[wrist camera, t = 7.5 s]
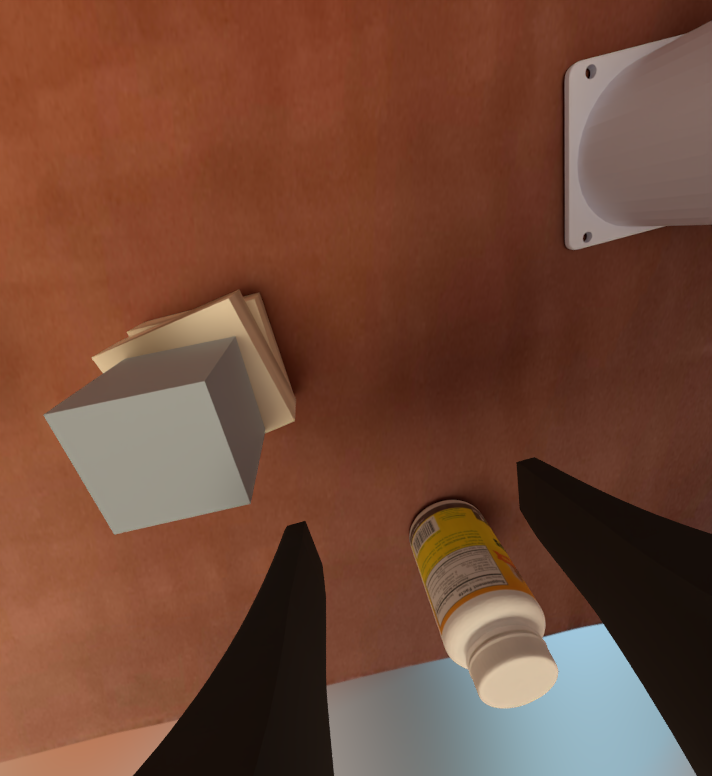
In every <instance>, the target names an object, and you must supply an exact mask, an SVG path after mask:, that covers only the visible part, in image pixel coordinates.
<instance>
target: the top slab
mask: <svg viewBox="0 0 712 776" xmlns="http://www.w3.org/2000/svg"><path fill="white" fill-rule="evenodd" d="M234 336H236V339H237V342H238V346H239V349H240V352H241V355H242V358H243V361H244V364H245V367H246V371H247V374H248V377H249V380H250V383H251V386H252V389H253V392H254V396H255V399H256V402H257V405H258V408H259V411H260V414H261V417H262V421H263V424H264V427H265V433H267V432H270V431H272V430H274V429H277V428H279V427H282V426H284V425H287V424H289V423H291V422H294V421H295V409H296V397H295V396H294V394H293V392H292V390H291V388H290V386H289V384H288V382H287V380H286V378H285V376H284V374H283V373H282V371H281V369H280V367H279V365H278V363H277V361H276V359H275V357H274V355H273V353H272V352H271V350H270V348H269V346H268V344H267V342H266V340H265V338H264V336H263V334H262V332H261V330H260V329H259V327H258V325H257V323H256V321H255V319H254V317H253V315H252V313H251V311H250V309H249V307H248V306H247V304H246V302H245V300H244V298H243V296H242V294H241V292H240V290H237V291H234V292H232V293H230V294H227V295H225V296H223V297H220V298H218V299H216V300H214V301H211V302H209V303H207V304H204V305H202V306H200V307H197V308H195V309H193V310H190V311H188V312H186V313H184V314H181V315H179V316H177V317H174V318H172V319H170V320H167V321H165V322H163V323H160V324H158V325H156V326H153V327H151V328H149V329H147V330H144V331H142V332H140V333H137V334H135V335H133V336H130V337H128V338H126V339H123V340H121V341H119V342H118V343H116V344H114V345H112V346H111V347H109V348H107V349H105V350H104V351H102V352H100V353H99V354H97V355H95V356H93V357H92V359H93V361H94V362H95V363H96V365H97V366H98V367H99V369H100V370H101V371H102V372H103V373H105V372H106V371H108V370H109V369H111V368H112V367H113V366H115V365H116V364H118V363H119V362H121V361H122V360H124V359H126V358H131V357H136V356H141V355H146V354H150V353H155V352H160V351H165V350H170V349H175V348H180V347H185V346H190V345H194V344H199V343H204V342H209V341H214V340H219V339H224V338H229V337H234Z"/></svg>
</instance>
